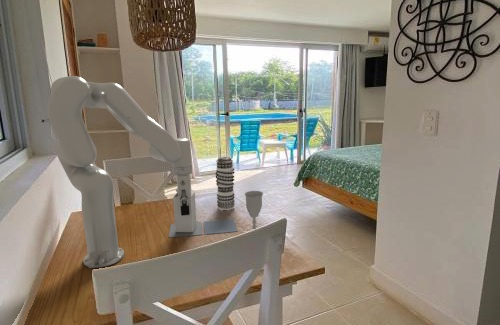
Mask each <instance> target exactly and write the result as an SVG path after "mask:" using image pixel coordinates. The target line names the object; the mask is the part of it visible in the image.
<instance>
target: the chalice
mask: <svg viewBox="0 0 500 325" xmlns="http://www.w3.org/2000/svg"><path fill="white" fill-rule="evenodd" d="M263 195H264V192H263V191H260V190H250V191H249V190H248V191H245V193H244V196H245V207H246V210H247V212H248V215H249V216H250V218H252V226H251V227H252V230H253V229H255V230H257V229H256V228H257V225H256V223H257V221H256V220H257V219H256V218H257V217H258V216H259V214H261V209H262V207H263Z"/></svg>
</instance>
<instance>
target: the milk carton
mask: <svg viewBox="0 0 500 325" xmlns="http://www.w3.org/2000/svg"><path fill="white" fill-rule="evenodd" d="M175 192H176V193H175V194H174V195H173V197H172V200H173V201H172V202H173V214H174V215H173V218H174V224H175V232H193V231H194V229H195V227H196V226H197V224H196V222H197V208H196V206H197V205H196V191H194V190H193V189H192V188H191V199H188V205H189V213H190V214H189V215H183V216H182V215H181V200H180V199H179V196H178V188H176V189H175ZM185 193H186V191H185ZM180 198H181V197H180ZM185 198H187V196H185ZM186 201H187V200H186Z"/></svg>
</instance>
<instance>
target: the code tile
mask: <svg viewBox="0 0 500 325" xmlns="http://www.w3.org/2000/svg"><path fill="white" fill-rule="evenodd" d="M196 224H197V226H196V227H195V229H194V231H193V232H175V223H171V224H170V228H169V233H168V239H170V238H183V237H193V236H202V235H203V228H202V227H203V226H202V225H203V222H202V221H196Z"/></svg>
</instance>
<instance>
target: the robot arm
mask: <svg viewBox="0 0 500 325" xmlns="http://www.w3.org/2000/svg"><path fill="white" fill-rule="evenodd" d="M50 93H51V95H50V96H51V97H50V99H49V102H48V105H47V115H48V116H47V117H48V120H49V121H48V122H49V123H50V126H51V129H52V130H53V133H54V135H55V138H56V140H57V142H56V147H55V152H56V156H57V158H58V161H59V163H60V165H61V166H62V168H63V170H64V172H65V174H66V176H67V178H68V180H69V182H70V183H71V185H72V186H73V187H74V189H76V190H78V191H79V192H80V194H81V214H82V215H81V216H82V220H83V227H84V229H83V230H84V236H85V243H86V249H87V254H86V255H85V256H84V257H83V262H82V263H83V265H84V266H86V267H88V268H89V269H94V268H95V269H96V268H105V267H108V266H111V265H114V264H117V263H118V262H120V261H121V260H122V259H123V258H124V256H125V250H124V249H123V248H122V247H119V241H118V239H119V238H118V230H117V223H116V222H117V221H116V213H115V203H114V192H115V191H114V190H115V189H114V188H115V185H114V180H113V177H112V176H111V174H110V173H109V172H108V171H107V170H105V169H103V168H101V167H99V166H98V165H97V164H96V162H95V161H96V160H97V157H98V156H97V155H98V153H97V152H98V151H97V148H96V146H95V144H94V142H93V139H92V137H91V136H90V133H89V131H88V129H87V127H86V124H85V120H84V117H83V109H84V108H94V109H106V110H107V111H108V112H109V113H110V115H112V116H113V117H114V119H116V120H117V121H118V122H119V124H121V126H122V127H124V129H125V130H127V131H128V132H129V133H130V134H132V135H134V136H135V137H137V138H139V139H141V140H143V141H145V142H146V143H148V145H149V146H148V154H149V156H151V158H152V159H154V160H158V161H161V162H165V163H169V164H171V166H172V174H173V176H176V177H175V178H176V185H177V188H176V189H178V196H179V199H180V200H181V215H182V216H183V215H189V214H190V213H189V205H188V199H191V189H192V184H191V183H192V181H191V179H192V178H191V175H192V174H193V164H192V152H191V151H192V149H191V148H192V147H191V141H190V139H189V138H183V137H182V138H179V137H178V138H174V137H173V136H172V135H171V134H170V132H169V131H167V130H166V129H165V128H164V127H162V126H161V125H160V124H159V123H158V122H156V121H155V119H154V118H152V117H151V116H149V115H148V114H147V113H146V112H145V111H144V109H142V107H141V106H140V105H139V104H138V103H137V101H135V99H134V98H133V97H132V96H131V95H130V93H128V91H127V90H125V88H124V87H123V86H121V85H120V84H118V83H116V82H103V83H102V82H93V81H86V80H85V79H84V78H82V77H80V76H78V75H68V76H64V77H60V78H59V77H58V78H57V79H55V80H54V81H53V82H52V84H51V85H50ZM185 191H186V193H185ZM185 196H187V198H185ZM180 197H181V198H180ZM186 200H187V201H186Z"/></svg>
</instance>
